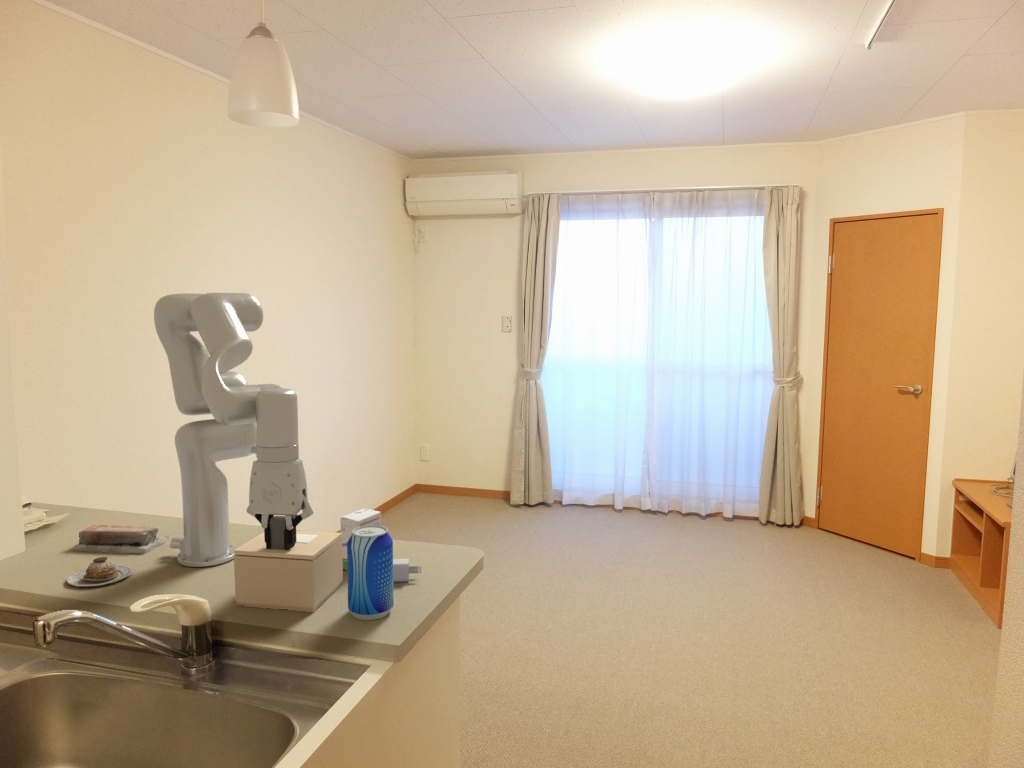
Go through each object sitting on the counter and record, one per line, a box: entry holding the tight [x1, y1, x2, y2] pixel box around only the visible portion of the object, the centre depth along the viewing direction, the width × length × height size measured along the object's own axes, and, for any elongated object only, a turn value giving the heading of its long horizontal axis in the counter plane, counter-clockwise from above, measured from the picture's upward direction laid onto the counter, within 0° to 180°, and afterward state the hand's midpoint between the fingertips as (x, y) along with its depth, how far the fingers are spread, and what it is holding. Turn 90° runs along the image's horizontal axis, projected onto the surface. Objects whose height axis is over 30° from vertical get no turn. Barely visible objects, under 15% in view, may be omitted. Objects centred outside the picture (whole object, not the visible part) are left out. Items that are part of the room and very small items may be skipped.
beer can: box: [346, 525, 394, 621], centre depth 135 cm, size 8×8×16 cm
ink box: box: [340, 508, 382, 571], centre depth 159 cm, size 8×5×12 cm, turn 152°
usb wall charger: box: [393, 558, 422, 583], centre depth 152 cm, size 4×7×4 cm, turn 97°
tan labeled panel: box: [234, 515, 342, 560], centre depth 142 cm, size 16×14×7 cm
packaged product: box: [73, 524, 170, 554], centre depth 171 cm, size 18×5×10 cm
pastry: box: [66, 556, 133, 588], centre depth 151 cm, size 12×12×5 cm
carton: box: [233, 537, 344, 613], centre depth 143 cm, size 16×14×10 cm
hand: (280, 546), depth 138 cm, fingers closed on tan labeled panel, 3 cm apart
